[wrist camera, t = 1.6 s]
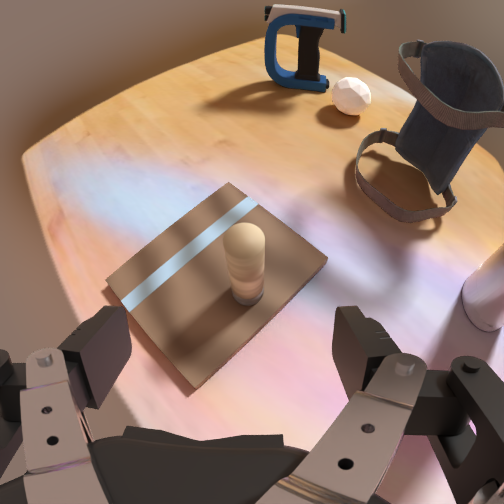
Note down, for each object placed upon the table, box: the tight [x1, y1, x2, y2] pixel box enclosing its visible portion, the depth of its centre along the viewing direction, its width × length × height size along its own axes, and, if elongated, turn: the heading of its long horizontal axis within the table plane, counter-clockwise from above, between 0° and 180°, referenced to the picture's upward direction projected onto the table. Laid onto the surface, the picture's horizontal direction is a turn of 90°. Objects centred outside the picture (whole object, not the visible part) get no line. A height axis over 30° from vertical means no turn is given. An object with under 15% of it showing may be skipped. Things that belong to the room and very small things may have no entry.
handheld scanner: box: [265, 4, 346, 92], centre depth 54 cm, size 4×16×19 cm, turn 81°
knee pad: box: [355, 40, 504, 223], centre depth 37 cm, size 18×20×25 cm
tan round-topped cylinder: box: [223, 223, 265, 306], centre depth 32 cm, size 4×4×11 cm
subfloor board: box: [106, 182, 328, 389], centre depth 39 cm, size 22×18×2 cm
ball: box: [332, 77, 371, 115], centre depth 54 cm, size 8×8×8 cm
